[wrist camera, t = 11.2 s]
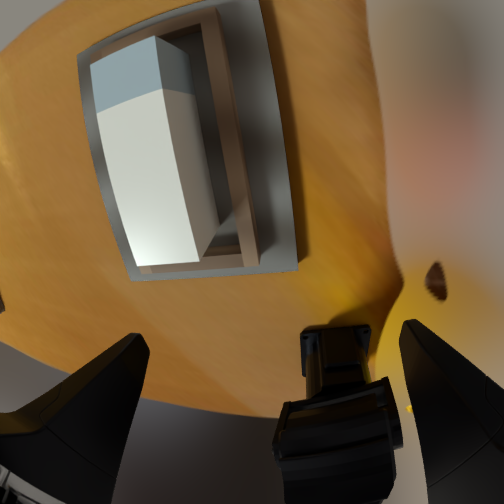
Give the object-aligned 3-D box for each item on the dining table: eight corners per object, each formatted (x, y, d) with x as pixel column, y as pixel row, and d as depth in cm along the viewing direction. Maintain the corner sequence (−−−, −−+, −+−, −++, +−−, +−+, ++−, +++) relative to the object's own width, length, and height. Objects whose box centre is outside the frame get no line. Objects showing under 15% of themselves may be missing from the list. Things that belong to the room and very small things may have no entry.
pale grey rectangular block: (220, 225, 19) (199, 261, 14) (168, 231, 19) (137, 266, 15) (188, 54, 14) (154, 35, 9) (134, 72, 14) (89, 64, 10)
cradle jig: (297, 263, 21) (298, 282, 18) (136, 275, 23) (123, 291, 21) (257, -4, 12) (253, -20, 10) (84, 56, 14) (64, 53, 12)
